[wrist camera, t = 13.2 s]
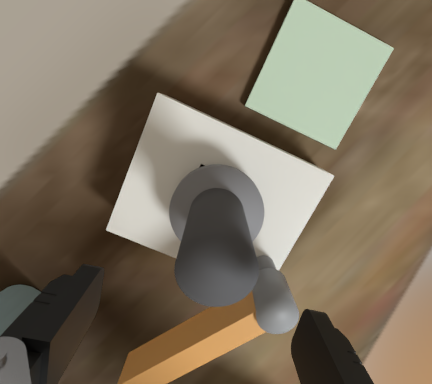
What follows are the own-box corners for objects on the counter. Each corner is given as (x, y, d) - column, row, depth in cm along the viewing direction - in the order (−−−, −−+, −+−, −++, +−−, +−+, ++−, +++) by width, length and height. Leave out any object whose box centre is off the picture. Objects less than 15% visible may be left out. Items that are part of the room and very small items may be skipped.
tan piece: (274, 261, 21) (285, 291, 18) (292, 288, 22) (306, 321, 19) (126, 345, 24) (110, 386, 20) (146, 367, 24) (134, 410, 21)
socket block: (317, 166, 26) (348, 183, 20) (258, 269, 29) (269, 312, 23) (166, 95, 24) (150, 90, 18) (121, 213, 27) (93, 243, 21)
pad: (389, 49, 23) (393, 48, 23) (333, 148, 26) (335, 149, 25) (294, -3, 22) (296, -5, 22) (244, 105, 25) (244, 105, 24)
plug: (266, 172, 26) (318, 238, 13) (234, 234, 28) (249, 349, 15) (197, 141, 25) (176, 175, 12) (169, 207, 27) (122, 302, 14)
